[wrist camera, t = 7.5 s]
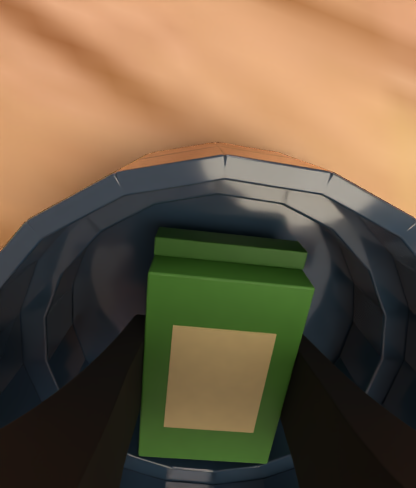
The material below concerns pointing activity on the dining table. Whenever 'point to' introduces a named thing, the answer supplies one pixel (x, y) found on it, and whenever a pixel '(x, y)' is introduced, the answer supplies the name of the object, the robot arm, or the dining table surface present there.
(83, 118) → the dining table surface
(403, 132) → the dining table surface
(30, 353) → the bowl
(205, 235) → the green box
